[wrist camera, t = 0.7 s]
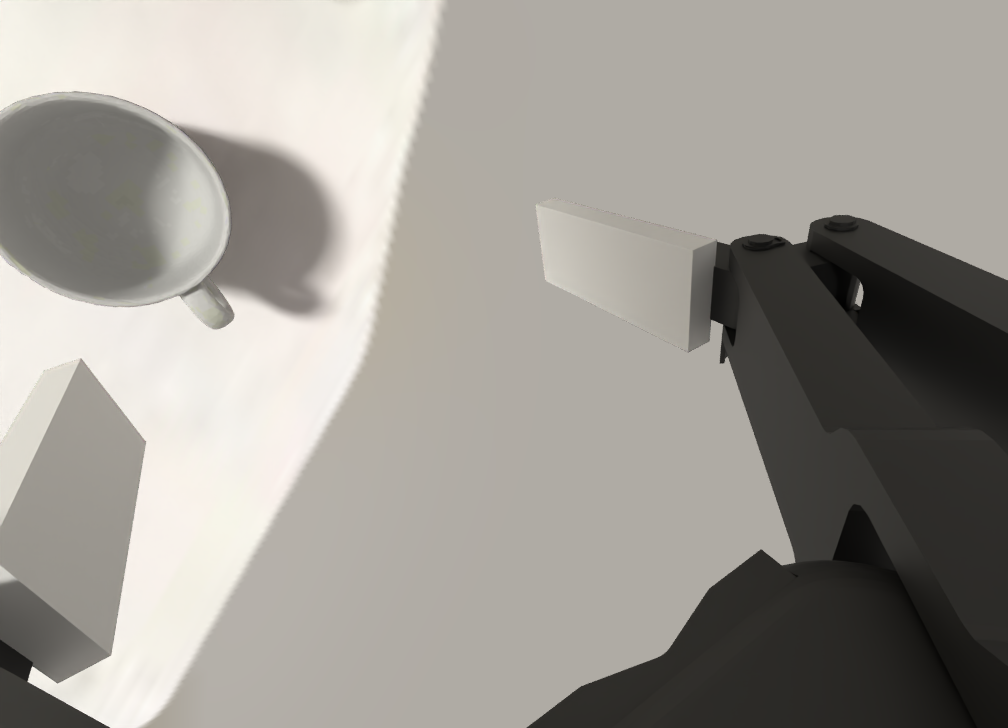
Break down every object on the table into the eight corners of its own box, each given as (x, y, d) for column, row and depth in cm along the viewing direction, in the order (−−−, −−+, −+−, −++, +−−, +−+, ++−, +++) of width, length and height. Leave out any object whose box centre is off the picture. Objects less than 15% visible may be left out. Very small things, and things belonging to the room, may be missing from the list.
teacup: (-35, 124, 27) (-110, 125, 21) (172, 77, 30) (163, 66, 24) (124, 336, 34) (104, 384, 28) (276, 280, 38) (289, 312, 31)
